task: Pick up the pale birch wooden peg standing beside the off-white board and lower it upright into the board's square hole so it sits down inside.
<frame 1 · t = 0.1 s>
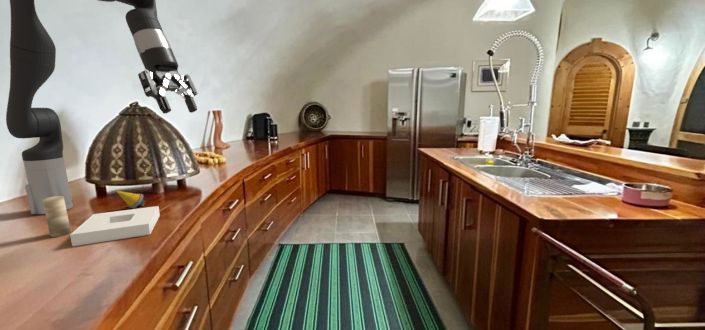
hand: (181, 111, 80), 31 cm above the worktop, fingers open, 8 cm apart
socket board: (121, 229, 85), on the worktop
drill bit: (134, 209, 102), on the worktop
wooden peg: (60, 234, 82), on the worktop
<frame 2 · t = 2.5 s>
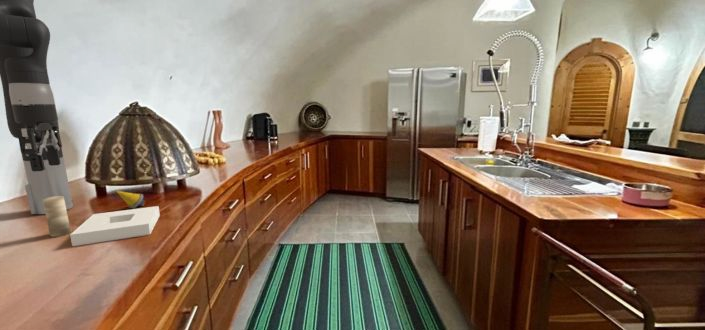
hand: (47, 168, 79), 18 cm above the worktop, fingers open, 8 cm apart
nothing on the worktop moved.
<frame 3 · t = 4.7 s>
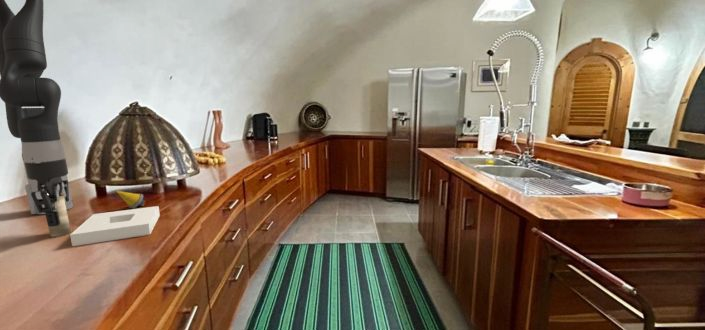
hand: (58, 222, 81), 3 cm above the worktop, fingers closed on wooden peg, 4 cm apart
wooden peg: (60, 234, 82), on the worktop, touching gripper
everything else where it was.
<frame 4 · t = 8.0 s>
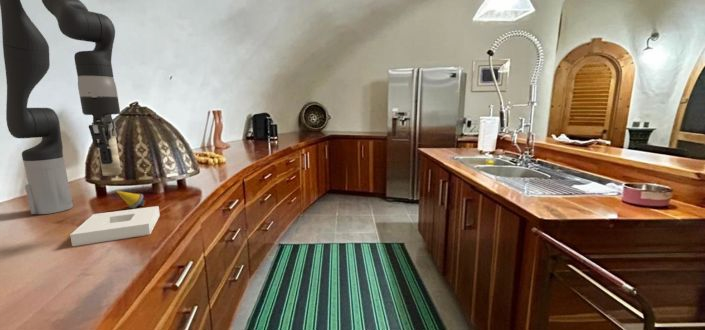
hand: (110, 161, 81), 19 cm above the worktop, fingers closed on wooden peg, 4 cm apart
wooden peg: (112, 174, 82), point 15 cm above the worktop, touching gripper
everything else where it was.
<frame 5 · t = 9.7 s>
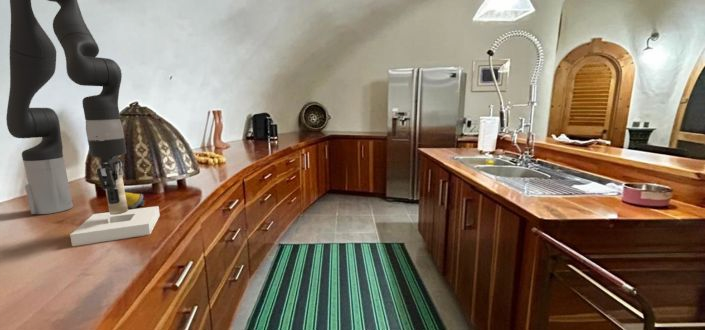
hand: (116, 200, 83), 8 cm above the worktop, fingers closed on wooden peg, 4 cm apart
wooden peg: (119, 212, 84), point 5 cm above the worktop, touching gripper
everything else where it was.
when the fingers open (5 cm above the worktop, at t = 11.2 s): wooden peg drops 1 cm, resting in socket board.
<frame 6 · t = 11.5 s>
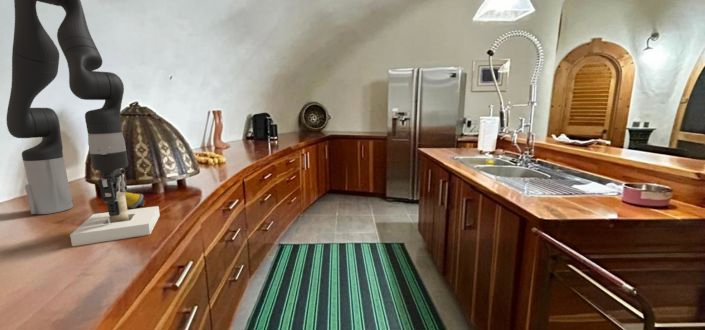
hand: (118, 211, 84), 5 cm above the worktop, fingers open, 6 cm apart
wooden peg: (121, 229, 85), resting in socket board
everything else where it was.
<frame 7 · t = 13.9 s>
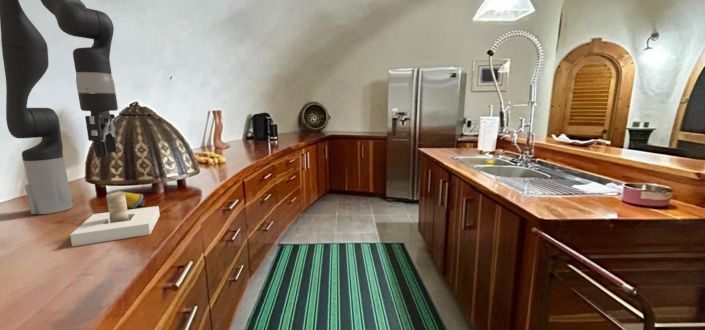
hand: (107, 154, 82), 21 cm above the worktop, fingers open, 8 cm apart
nothing on the worktop moved.
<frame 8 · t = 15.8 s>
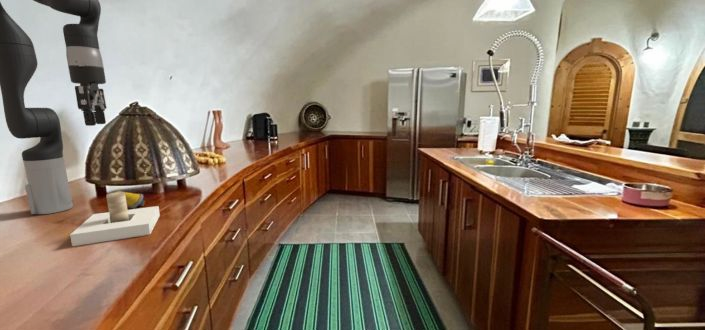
hand: (96, 124, 88), 28 cm above the worktop, fingers open, 8 cm apart
nothing on the worktop moved.
at the end: wooden peg 0.1 cm off-centre on the socket board, point 0.0 cm above the socket board's base; wooden peg tilted 0°; the gripper is holding nothing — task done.
